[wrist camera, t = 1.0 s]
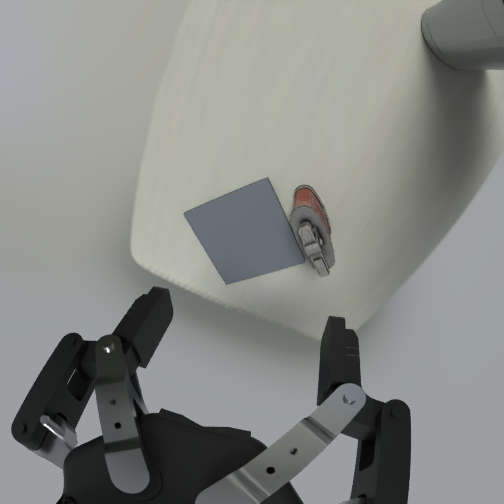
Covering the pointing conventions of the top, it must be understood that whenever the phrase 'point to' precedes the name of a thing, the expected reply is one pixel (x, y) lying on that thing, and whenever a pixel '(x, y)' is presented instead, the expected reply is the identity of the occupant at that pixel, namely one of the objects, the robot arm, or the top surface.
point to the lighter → (312, 229)
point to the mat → (246, 232)
